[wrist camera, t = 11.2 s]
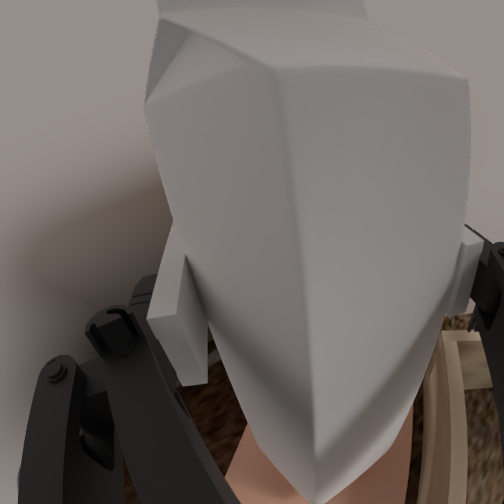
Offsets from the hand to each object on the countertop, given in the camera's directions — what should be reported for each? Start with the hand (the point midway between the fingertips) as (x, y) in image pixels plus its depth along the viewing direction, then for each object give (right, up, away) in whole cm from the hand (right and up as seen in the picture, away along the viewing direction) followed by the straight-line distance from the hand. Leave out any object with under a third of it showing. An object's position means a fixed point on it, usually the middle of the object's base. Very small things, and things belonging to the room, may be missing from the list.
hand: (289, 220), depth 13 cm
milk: (+3, -14, +2) cm, 14 cm away
